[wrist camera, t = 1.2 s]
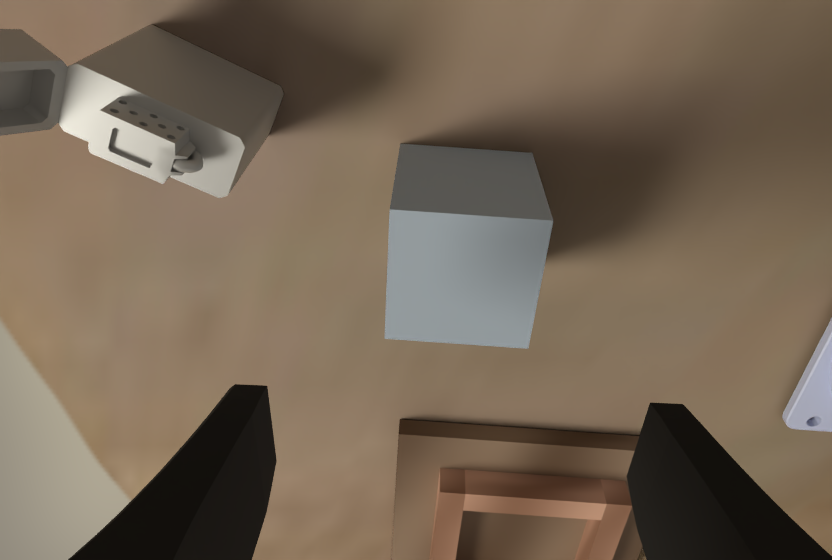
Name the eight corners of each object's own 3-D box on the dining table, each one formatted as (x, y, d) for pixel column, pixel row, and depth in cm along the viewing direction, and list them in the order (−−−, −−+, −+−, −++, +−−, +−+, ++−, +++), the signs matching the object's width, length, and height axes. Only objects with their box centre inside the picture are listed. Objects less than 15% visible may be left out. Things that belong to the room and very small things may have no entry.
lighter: (285, 88, 18) (193, 212, 12) (267, 139, 19) (171, 282, 13) (36, -31, 17) (-233, 32, 10) (28, 30, 18) (-226, 125, 11)
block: (532, 152, 19) (553, 220, 15) (513, 264, 21) (528, 348, 18) (400, 142, 19) (390, 209, 15) (395, 256, 21) (384, 338, 18)
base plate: (674, 438, 25) (690, 478, 24) (612, 595, 31) (621, 636, 30) (400, 419, 25) (396, 458, 24) (390, 579, 31) (386, 619, 30)
